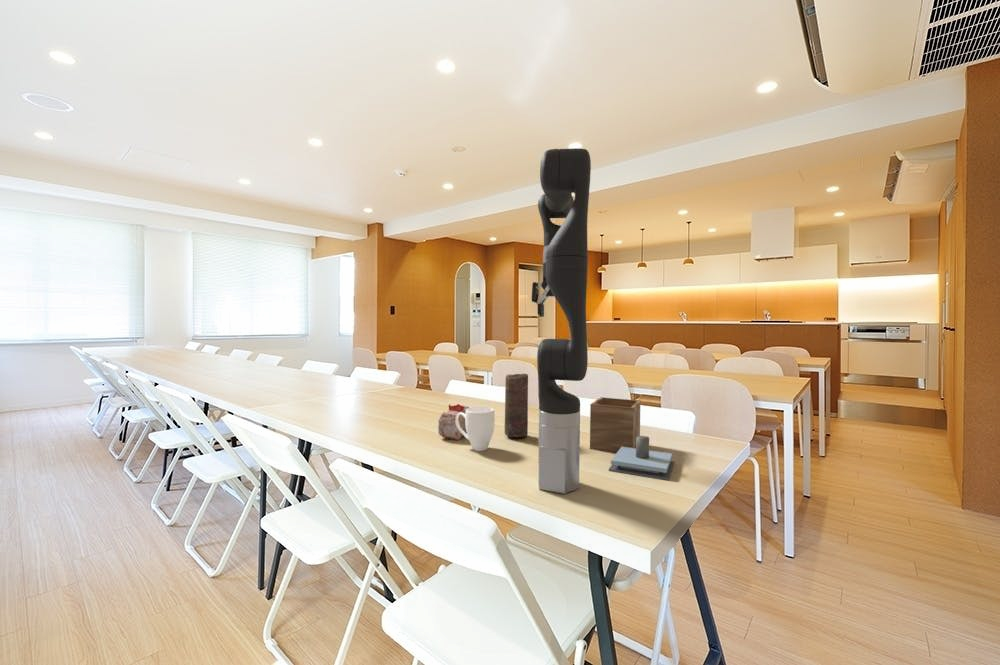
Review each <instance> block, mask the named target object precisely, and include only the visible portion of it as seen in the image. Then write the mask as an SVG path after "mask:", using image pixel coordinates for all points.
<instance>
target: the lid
mask: <svg viewBox="0 0 1000 665" xmlns="http://www.w3.org/2000/svg"><path fill="white" fill-rule="evenodd" d="M672 458H673V453H672V452H664V451H656V450H650V436H646V435H640V436H636V448H629V447H621V448H620V449H619V451H618V452H615V454H614V456H613V457H612V459H610V464H611V465H618V466H620V468H626V469H633V470H639V471H645V472H651V473H658V474H659V472H663V473H667V470H668V467H669V464H670V461H672Z"/></svg>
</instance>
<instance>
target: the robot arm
mask: <svg viewBox="0 0 1000 665" xmlns="http://www.w3.org/2000/svg"><path fill="white" fill-rule="evenodd" d="M591 160H592V159H591V155H590V152H589V151H588V150H587V149H586V148H581V147H580V148H552V149H547V150H546V151H545V152H544V153H543V154H542V156H541V160H540V164H539V165H540V166H539V173H540V174H539V176H540V177H539V179H540V186H541V189H542V191H543V194H542V195H540V197H539V199H538V201H537V209H538V213H539V215H540V219H541V224H542V227H543V228H542V230H543V251H542V252H543V253H542V281H541V282H536V281H534V282H532V286H531V302H532V303H535V304H536V305H537V315H538V316H539V318H540V317H541V318H543V317H545V304H544V303H545V302H546V300H548V298H549V297H553V298H554V299H555V300H556V301H557V303H558V304H559V306H560V308H561V310H562V311H563V313H564V315H565V317H566V321H567V323H568V327H569V332H570V339H569V338H544V339H541V341H540V342H539V345H538V346H537V347H538V348H537V353H536V354H537V356H536V359H537V360H536V361H537V362H536V363H537V366H536V367H537V382H538V384H537V387H538V388H537V392H538V394H537V395H538V397H537V398H538V489H539V490H542V491H547V492H554V493H557V494H563V495H566V494H567V493H570V492H573V491H576V490H578V489H579V488H580V459H581V458H580V455H581V454H580V451H581V450H580V448H581V446H580V445H581V444H580V441H581V440H580V439H581V437H580V436H581V430H580V429H581V400H580V398H579V397H578V395H575V394H572V393H571V392H567V391H566V390H565V389H563V388H562V387H560V386H559V385H558V384H557V382H556V381H557V380H558V381H570V382H572V381H573V382H581V381H583V380H584V379H585V377H586V375H587V371H588V364H589V363H588V362H589V361H588V358H589V357H588V337H587V336H588V330H587V293H588V292H587V286H588V266H589V265H588V257H589V253H588V252H589V250H588V218H589V217H588V214H589V213H588V212H589V200H590V188H591V170H592V169H591V168H592V167H591V166H592V164H591ZM572 193H574V197H573V195H572ZM551 219H564V220H563V223H562V224H560V225H559V224H557V223H556V224H555V223H553V221H552V220H551ZM541 288H542V289H543V291H542V293H541V294H540V292H539V291H540V290H541ZM539 295H540V296H539Z"/></svg>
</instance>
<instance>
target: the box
mask: <svg viewBox="0 0 1000 665" xmlns="http://www.w3.org/2000/svg"><path fill="white" fill-rule="evenodd" d="M589 406H590V409H589V414H590V416H589V449H590V450H595V451H596V450H597V451H604V452H611V453H617V452H618V451H619V449H620V448H621V447H629V448H636V436H641V400H637V399H636V400H635V399H625V398H613V397H605V396H603V397H601V396H600V397H599V398H597V399H596V400H594V401H593V402H591V403H590V405H589Z"/></svg>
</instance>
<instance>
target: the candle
mask: <svg viewBox="0 0 1000 665" xmlns="http://www.w3.org/2000/svg"><path fill="white" fill-rule="evenodd" d="M504 392H505V395H504V397H505V398H504V400H505V401H504V402H505V403H504V435H505V436H507V437H508V438H522V437H526V436H528V430H529V426H528V425H529V424H528V423H529V422H528V420H529V415H528V414H529V408H528V407H529V374H528V373H515V374H507V375H506V376H505V391H504Z"/></svg>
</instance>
